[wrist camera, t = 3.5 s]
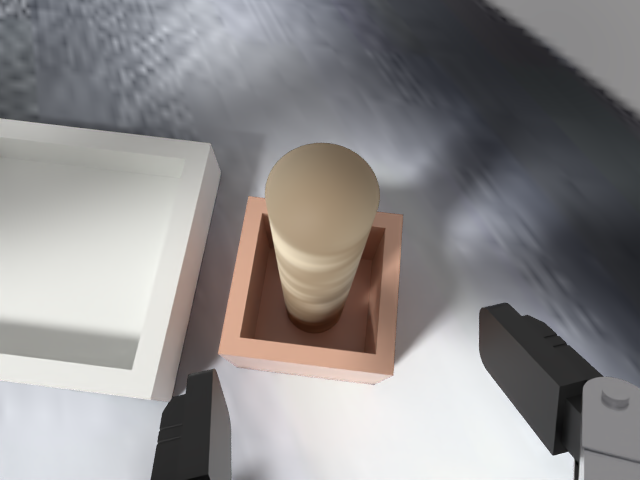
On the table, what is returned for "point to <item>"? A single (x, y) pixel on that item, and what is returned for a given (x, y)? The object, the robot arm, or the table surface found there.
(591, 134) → the table surface
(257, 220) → the pot
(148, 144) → the tray
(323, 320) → the dowel pin
